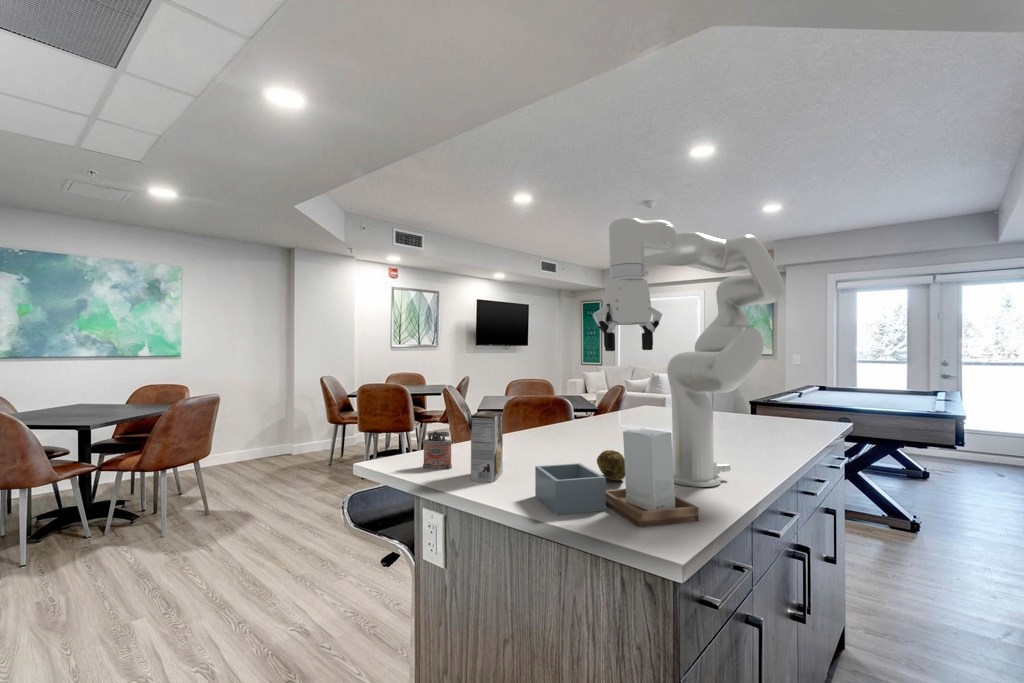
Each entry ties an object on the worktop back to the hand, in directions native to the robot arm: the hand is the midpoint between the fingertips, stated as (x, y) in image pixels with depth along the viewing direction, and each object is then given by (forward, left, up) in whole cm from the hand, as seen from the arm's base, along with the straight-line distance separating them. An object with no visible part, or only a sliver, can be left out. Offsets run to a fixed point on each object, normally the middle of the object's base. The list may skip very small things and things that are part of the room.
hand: (629, 350), depth 106 cm
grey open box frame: (+16, +3, -32) cm, 36 cm away
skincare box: (+2, +12, -31) cm, 33 cm away
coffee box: (+28, -22, -32) cm, 48 cm away
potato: (-1, -11, -32) cm, 34 cm away
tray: (+3, +12, -32) cm, 34 cm away
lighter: (+39, -35, -32) cm, 62 cm away
